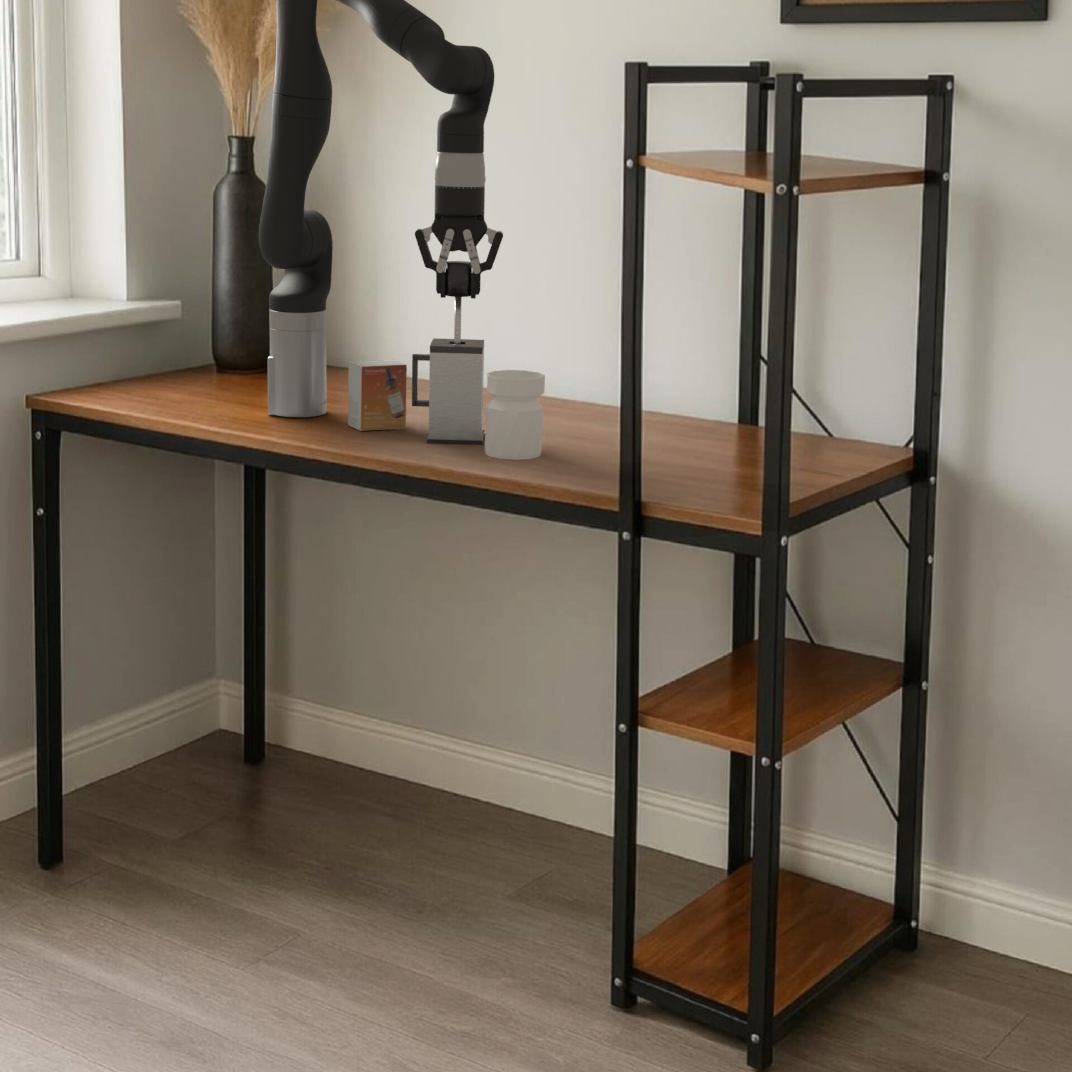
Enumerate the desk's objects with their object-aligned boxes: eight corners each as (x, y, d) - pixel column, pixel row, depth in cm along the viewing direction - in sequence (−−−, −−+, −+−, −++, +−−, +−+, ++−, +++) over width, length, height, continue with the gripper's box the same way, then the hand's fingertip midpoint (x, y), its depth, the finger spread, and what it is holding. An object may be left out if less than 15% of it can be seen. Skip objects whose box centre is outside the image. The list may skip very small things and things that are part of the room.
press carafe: (409, 442, 259) (410, 345, 255) (413, 431, 267) (414, 337, 263) (482, 444, 259) (484, 347, 255) (484, 433, 267) (486, 339, 263)
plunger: (438, 400, 259) (440, 263, 253) (440, 394, 264) (442, 260, 258) (472, 401, 259) (475, 264, 253) (473, 395, 264) (476, 261, 258)
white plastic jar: (497, 461, 248) (499, 380, 245) (476, 449, 256) (477, 371, 252) (551, 457, 251) (554, 378, 248) (528, 446, 259) (531, 368, 256)
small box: (360, 432, 265) (360, 366, 263) (347, 425, 270) (347, 360, 268) (407, 429, 269) (407, 363, 266) (393, 422, 274) (393, 358, 271)
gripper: (410, 183, 249) (410, 299, 254) (506, 186, 249) (504, 301, 254) (414, 180, 256) (413, 293, 261) (507, 183, 257) (505, 295, 261)
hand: (458, 296), depth 257 cm, fingers closed on plunger, 4 cm apart
